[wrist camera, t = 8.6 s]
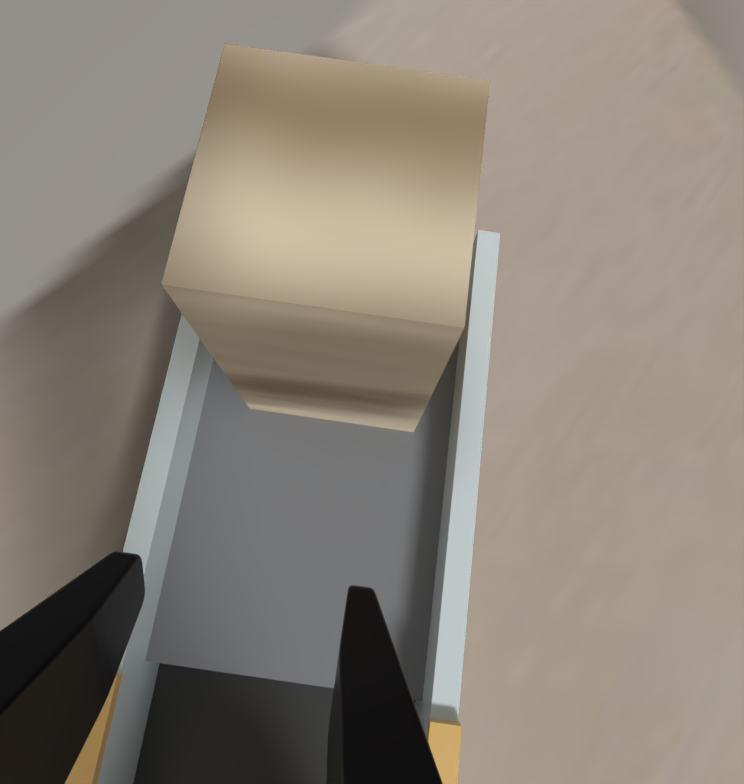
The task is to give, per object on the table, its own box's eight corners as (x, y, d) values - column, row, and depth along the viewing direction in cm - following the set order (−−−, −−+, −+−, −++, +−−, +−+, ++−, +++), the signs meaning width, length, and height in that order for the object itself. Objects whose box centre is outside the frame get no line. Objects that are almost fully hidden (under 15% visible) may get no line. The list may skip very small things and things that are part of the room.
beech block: (413, 432, 21) (464, 327, 11) (249, 408, 21) (161, 284, 11) (431, 283, 23) (490, 80, 13) (279, 261, 23) (224, 43, 13)
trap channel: (413, 967, 18) (430, 1092, 14) (79, 918, 18) (-4, 1027, 14) (478, 283, 25) (504, 227, 21) (232, 249, 25) (207, 186, 21)
